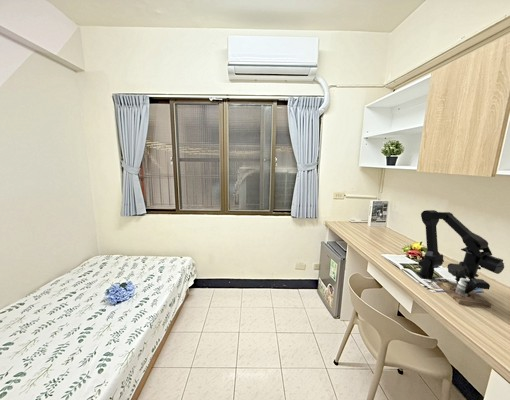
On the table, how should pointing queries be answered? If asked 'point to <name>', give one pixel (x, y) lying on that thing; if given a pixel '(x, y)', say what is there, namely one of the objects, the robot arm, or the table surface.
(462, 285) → the pill bottle
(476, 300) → the pin board
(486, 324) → the table surface
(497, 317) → the table surface
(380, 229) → the table surface
